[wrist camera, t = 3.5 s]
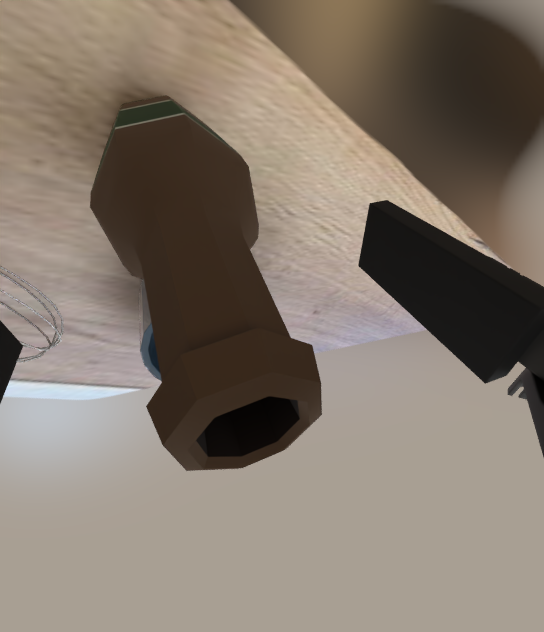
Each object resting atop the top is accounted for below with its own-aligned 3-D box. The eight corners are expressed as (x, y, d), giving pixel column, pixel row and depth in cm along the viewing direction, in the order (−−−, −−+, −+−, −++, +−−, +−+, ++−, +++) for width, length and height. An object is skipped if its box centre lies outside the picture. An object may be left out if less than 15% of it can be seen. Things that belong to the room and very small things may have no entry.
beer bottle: (232, 167, 25) (442, 397, 8) (162, 222, 26) (217, 535, 9) (165, 63, 20) (380, 95, 3) (80, 138, 20) (-180, 525, 3)
